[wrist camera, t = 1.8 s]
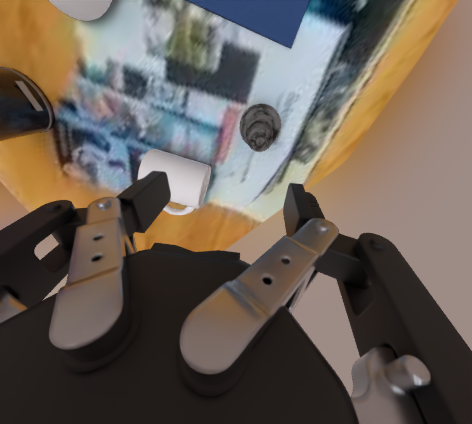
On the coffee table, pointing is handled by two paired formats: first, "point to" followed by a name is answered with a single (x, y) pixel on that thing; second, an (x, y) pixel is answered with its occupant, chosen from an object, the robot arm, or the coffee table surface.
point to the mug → (179, 178)
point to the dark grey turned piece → (260, 126)
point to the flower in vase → (82, 8)
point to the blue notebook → (262, 16)
